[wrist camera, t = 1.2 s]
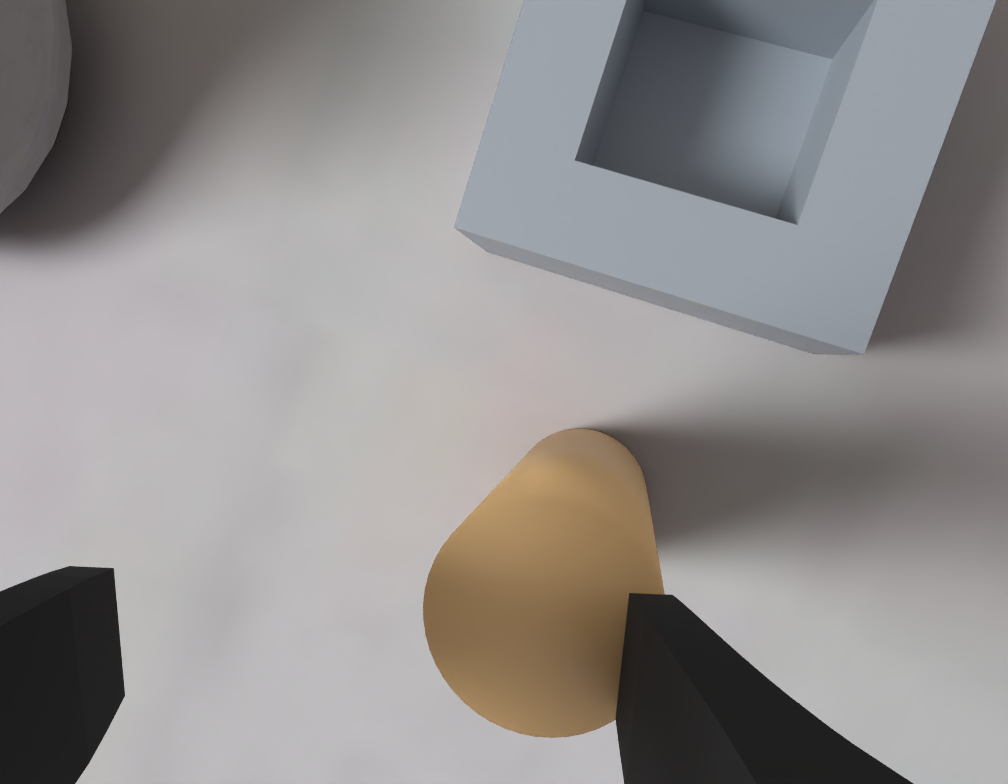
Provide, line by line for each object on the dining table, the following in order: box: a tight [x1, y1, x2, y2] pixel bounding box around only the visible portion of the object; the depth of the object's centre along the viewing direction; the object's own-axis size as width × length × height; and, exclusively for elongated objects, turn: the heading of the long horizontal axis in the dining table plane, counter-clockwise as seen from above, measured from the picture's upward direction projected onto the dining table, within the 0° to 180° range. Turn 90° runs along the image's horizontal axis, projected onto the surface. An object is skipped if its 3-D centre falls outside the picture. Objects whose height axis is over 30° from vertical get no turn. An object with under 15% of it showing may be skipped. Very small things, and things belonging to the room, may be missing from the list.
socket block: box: [454, 0, 996, 354], centre depth 17 cm, size 9×9×4 cm
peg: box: [423, 429, 665, 738], centre depth 15 cm, size 4×4×10 cm
